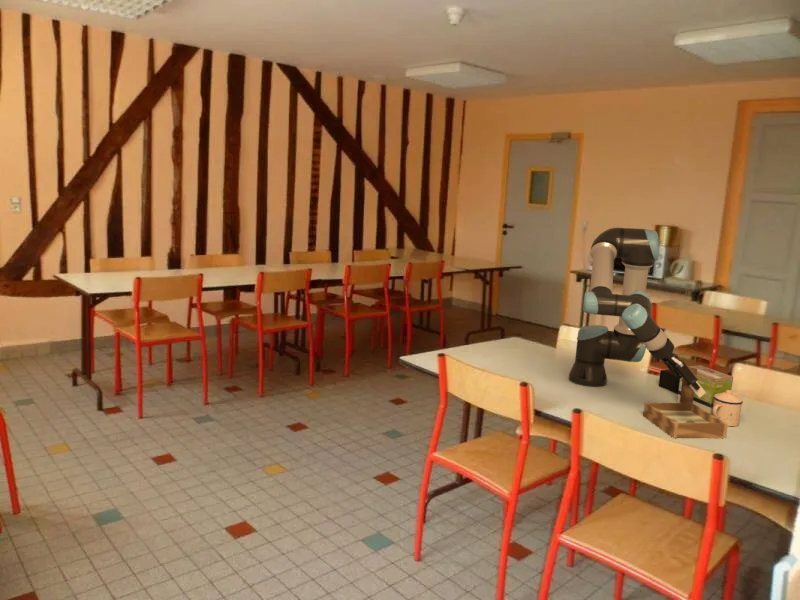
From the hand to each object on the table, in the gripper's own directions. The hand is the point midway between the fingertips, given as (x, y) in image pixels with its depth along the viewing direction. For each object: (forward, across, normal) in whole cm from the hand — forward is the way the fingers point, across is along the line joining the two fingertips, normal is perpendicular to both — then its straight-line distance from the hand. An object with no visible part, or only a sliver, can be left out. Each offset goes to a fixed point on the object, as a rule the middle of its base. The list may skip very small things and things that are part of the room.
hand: (698, 392), depth 210 cm
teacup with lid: (+19, -5, +1) cm, 19 cm away
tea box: (+19, -19, +1) cm, 27 cm away
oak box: (+6, -1, -11) cm, 13 cm away
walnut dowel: (0, 0, -5) cm, 5 cm away
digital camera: (+20, -41, +2) cm, 46 cm away
